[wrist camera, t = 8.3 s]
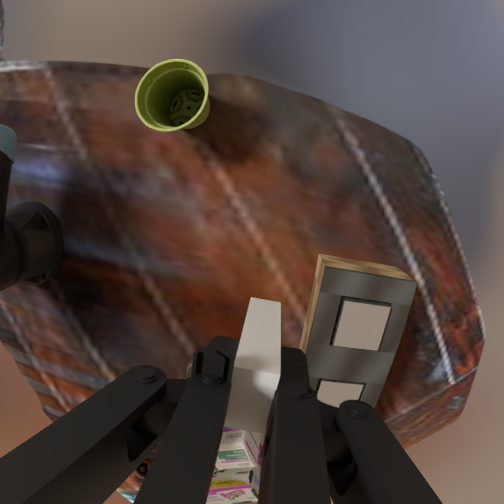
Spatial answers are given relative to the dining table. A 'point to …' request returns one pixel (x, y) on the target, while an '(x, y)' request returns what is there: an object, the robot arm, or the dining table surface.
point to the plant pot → (173, 96)
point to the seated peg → (337, 391)
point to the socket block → (324, 315)
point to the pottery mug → (143, 469)
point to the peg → (360, 323)
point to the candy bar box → (236, 483)
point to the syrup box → (238, 449)
